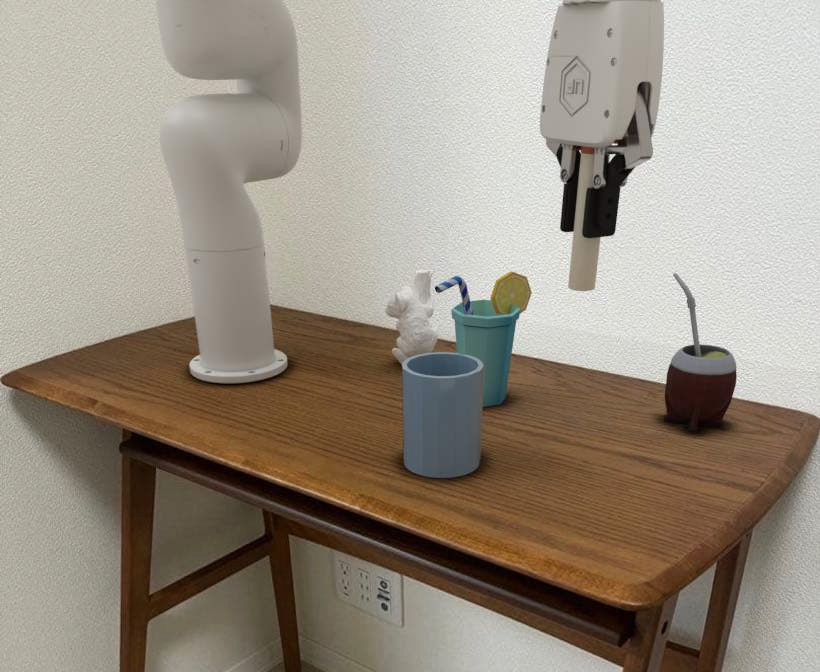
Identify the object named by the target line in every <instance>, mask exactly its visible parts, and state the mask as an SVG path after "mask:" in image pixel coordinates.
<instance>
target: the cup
mask: <svg viewBox="0 0 820 672" xmlns="http://www.w3.org/2000/svg"><path fill="white" fill-rule="evenodd" d="M456 285H458V288H459V293H460V297H461V300H462V302H459V303H458V304H457V305H455V306H454V307H452V308H451V312H450V313H451V319H452V320H454V331H455V344H456V346H455V347H456V353H461V354H465V355H470V356H473V357H475V358H477V359H479V360H481V361H482V363H483V365H484V379H483V407H482V408H485V407H492V406H498V405H501V404H502V403H503V402H504V401H505V399H506V395H507V389H508V381H509V376H510V375H509V374H510V367H511V362H512V353H513V346H514V341H515V334H516V328H517V327H516V325H517V320H519V319H520V315H521V314H522V313H524V312H525V311H526V310H527V307H528V305H529V301H530V299H531V296H532V290H531V287H530V282H529V280H528V277H527V276H525V275H523V274H520V273H517V272H514V271H511V270H510V271H509V272H507V273H505V274H503V275H502V276H500V277H499V278H497V279H496V280H495V283H494V285H493V289H492V291H491V295H490V299H478V300H471V298H470V294H469V290H468V285H467V283H466V281H465V280H464V278H463V277H461V276H460V275H458V274H456V275H454V276H453V277H450V278H449V279H447V280H445V281H443V282H441V283H439V284H437V285H435V286H434V291H435V293H437V294H440V293H443V292H444V291H447V290H448V289H450V288H452V287H454V286H456Z"/></svg>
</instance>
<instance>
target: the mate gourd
mask: <svg viewBox="0 0 820 672" xmlns="http://www.w3.org/2000/svg"><path fill="white" fill-rule="evenodd" d="M673 278H674V279H675V280H676V282H677V283H678V285H679V286H680V288H681V289H682V290H683V292H684V295H685V296H686V299H687V300H686V304H687V309H688V311H689V317H690V326H691V333H692V334H691V335H692V340H693V344H690V345H685V346H682V347H681V348H679V350H677V352H676V353H675V354H674V355H673V356H672V358H671V360H670V363H669V366H668V368H667V372H666V381H665V386H664V387H665V388H664V402H665V408H666V414H664V415H663V421H664V422H666V423H667V422H668V423H677V424H686V425H688V433H689V434H693V435H694V434H695V435H696V434H697V433H698V428H699V426H706V427H707V426H708V427H717V428H723V427H724V425H725V421H724V420H723V418H724V417H725V415H726V414H727V411H728V409H729V407H730V405H731V403H732V400H733V396H734V394H735V389H736V385H737V362H736V359H735V356H734V355H733V354H732V352H731V351H730V350H728V349H727V348H724V347H721V346H717V345H712V344H700V339H699V338H700V337H699V329H698V322H697V315H696V306H697V305H696V304H697V303H696V299H695V297H693V294H692V292H691V289H690V288H689V287H688V285H687V284H686V282H685V281H683V279H682V278H681V277H680V275H679V274H677V272H674V273H673Z"/></svg>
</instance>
